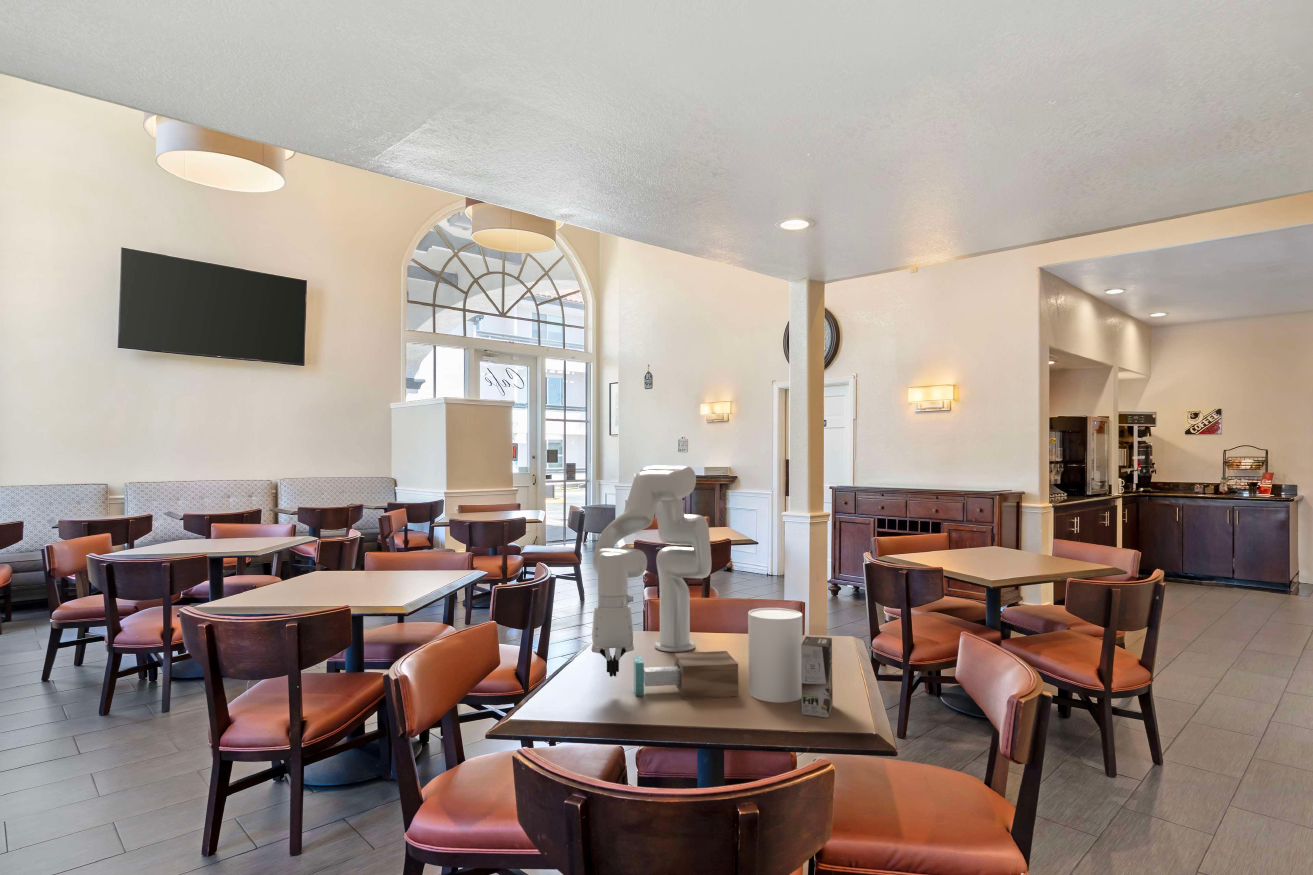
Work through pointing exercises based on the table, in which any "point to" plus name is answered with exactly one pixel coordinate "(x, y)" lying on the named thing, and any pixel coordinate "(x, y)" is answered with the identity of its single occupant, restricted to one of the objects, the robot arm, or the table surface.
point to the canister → (775, 654)
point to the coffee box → (816, 676)
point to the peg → (653, 676)
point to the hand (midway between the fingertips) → (612, 674)
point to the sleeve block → (707, 674)
